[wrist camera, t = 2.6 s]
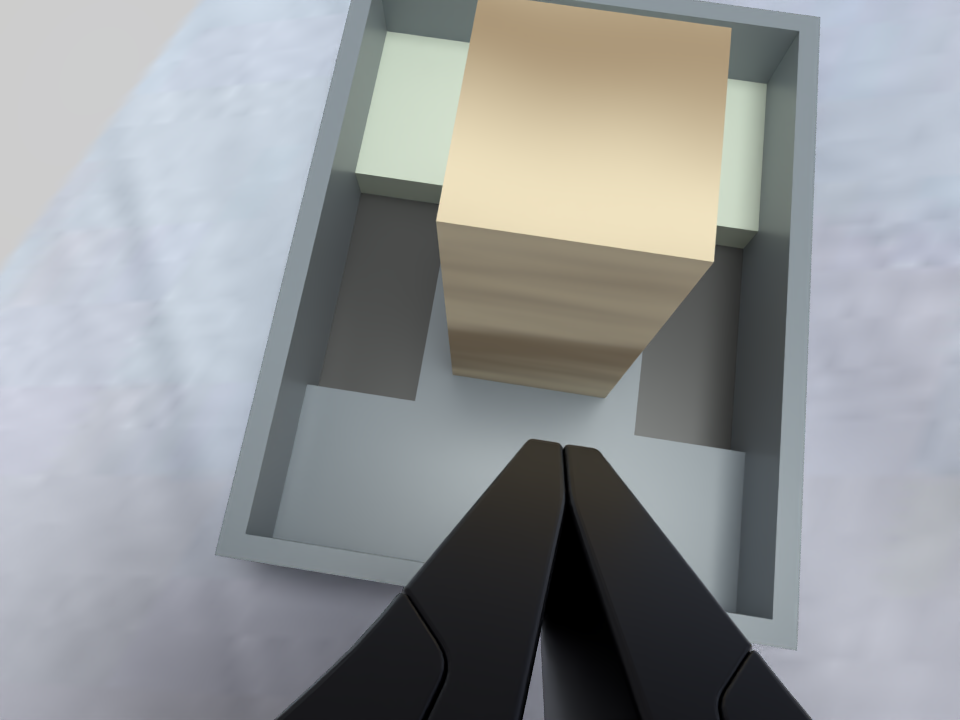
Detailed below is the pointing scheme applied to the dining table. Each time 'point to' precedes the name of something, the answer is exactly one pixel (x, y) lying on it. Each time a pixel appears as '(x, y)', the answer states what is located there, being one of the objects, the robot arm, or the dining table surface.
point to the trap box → (515, 408)
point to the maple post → (577, 189)
